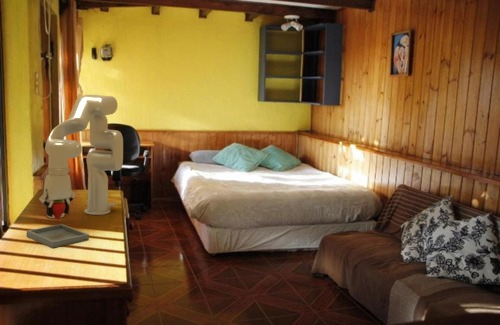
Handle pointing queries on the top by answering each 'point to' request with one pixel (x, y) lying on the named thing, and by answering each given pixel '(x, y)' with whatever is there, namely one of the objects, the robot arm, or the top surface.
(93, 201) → the robot arm
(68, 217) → the top surface
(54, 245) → the tray
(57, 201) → the strawberry
